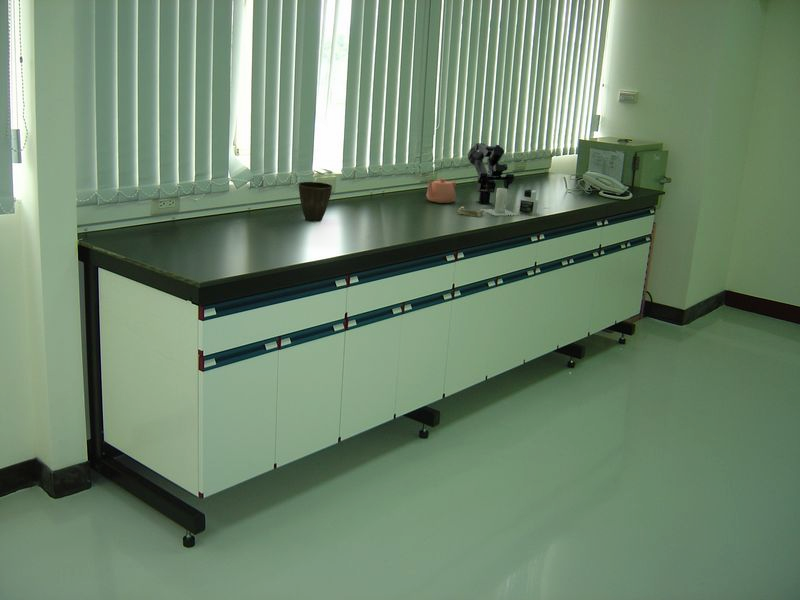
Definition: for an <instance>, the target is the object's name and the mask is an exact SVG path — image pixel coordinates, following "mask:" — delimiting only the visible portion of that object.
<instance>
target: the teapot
mask: <svg viewBox="0 0 800 600" xmlns="http://www.w3.org/2000/svg"><path fill="white" fill-rule="evenodd" d="M426 182H427V191H426V198H427V199H428V200H429V201H430V202H433V203H438V204H448V203H449V204H450V203H453V202H454V201H455V200H456V191H455V189H456V186H457V182H456V181H451V182H450V181H446V178H444V177H443V178H442V177H441V178H440V177H439V180H434V181H430V180H426Z"/></svg>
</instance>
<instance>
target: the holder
mask: <svg viewBox="0 0 800 600" xmlns="http://www.w3.org/2000/svg"><path fill="white" fill-rule="evenodd" d="M483 212H484V211H483V208H480V209H479V210H474V209H473V210H471V209H465V206H461V207H459V208H458V209H457V215H461V214H463V216H471V217H477V216H478V217H481V216H482V215H483V214H484V213H483Z"/></svg>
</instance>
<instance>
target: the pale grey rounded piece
mask: <svg viewBox="0 0 800 600" xmlns="http://www.w3.org/2000/svg"><path fill="white" fill-rule="evenodd" d="M507 191H508V192H509V188H508V189H506V188H505V187H497V188H496V192H495V193H496V194H495V204H494V209H495V211H494V212H496V213H505V209H506V207H507V200H508V198H507V197H508V192H507ZM506 210H507V209H506Z"/></svg>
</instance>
